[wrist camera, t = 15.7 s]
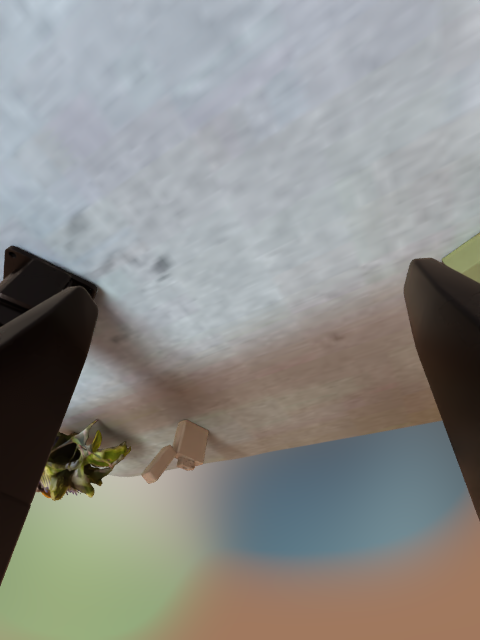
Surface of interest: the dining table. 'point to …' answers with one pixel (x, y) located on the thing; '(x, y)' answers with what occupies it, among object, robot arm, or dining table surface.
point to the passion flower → (78, 464)
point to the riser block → (466, 259)
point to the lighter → (180, 451)
